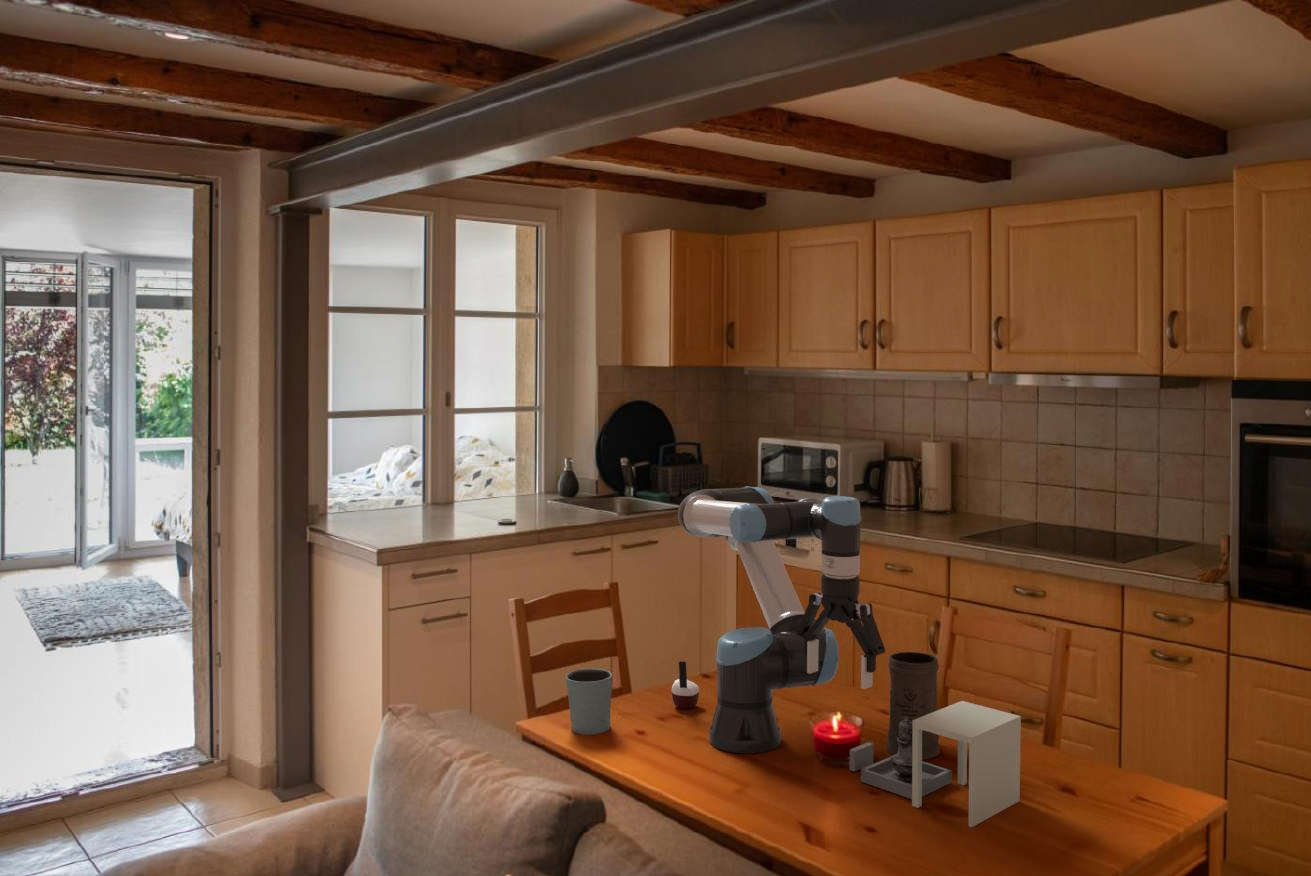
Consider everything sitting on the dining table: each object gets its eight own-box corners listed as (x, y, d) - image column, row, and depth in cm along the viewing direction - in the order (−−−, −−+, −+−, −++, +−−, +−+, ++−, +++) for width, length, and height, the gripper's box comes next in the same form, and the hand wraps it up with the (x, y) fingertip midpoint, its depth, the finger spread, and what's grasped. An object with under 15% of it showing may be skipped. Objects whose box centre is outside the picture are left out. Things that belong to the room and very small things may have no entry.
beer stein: (942, 763, 207) (942, 662, 207) (886, 759, 209) (887, 659, 209) (937, 741, 222) (937, 647, 222) (885, 737, 224) (886, 645, 224)
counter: (912, 805, 187) (912, 720, 186) (961, 781, 197) (961, 700, 196) (971, 827, 178) (972, 737, 177) (1019, 800, 189) (1020, 715, 187)
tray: (839, 773, 201) (840, 753, 201) (877, 757, 209) (877, 738, 209) (914, 800, 189) (914, 778, 188) (951, 782, 197) (951, 761, 196)
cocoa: (682, 701, 248) (681, 651, 248) (706, 704, 245) (705, 653, 245) (662, 711, 240) (661, 659, 240) (686, 714, 237) (685, 662, 237)
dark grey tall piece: (895, 784, 194) (896, 721, 193) (886, 772, 200) (886, 711, 199) (926, 783, 194) (927, 720, 194) (916, 771, 200) (916, 710, 199)
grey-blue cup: (621, 729, 228) (620, 676, 227) (581, 739, 222) (580, 684, 221) (597, 717, 236) (596, 665, 235) (558, 726, 231) (557, 673, 230)
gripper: (780, 567, 213) (779, 669, 215) (881, 588, 195) (879, 698, 197) (803, 562, 218) (802, 661, 220) (904, 582, 200) (902, 689, 202)
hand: (839, 679), depth 208 cm, fingers open, 13 cm apart
